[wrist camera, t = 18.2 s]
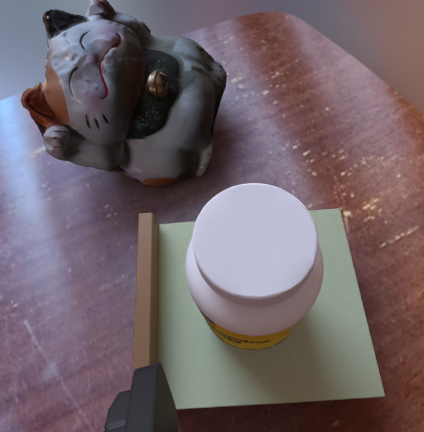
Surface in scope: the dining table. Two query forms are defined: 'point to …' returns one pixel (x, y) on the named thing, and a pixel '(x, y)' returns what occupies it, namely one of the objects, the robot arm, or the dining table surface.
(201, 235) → the pill bottle
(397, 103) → the dining table surface
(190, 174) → the lucky cat figurine
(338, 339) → the shoe shelf
